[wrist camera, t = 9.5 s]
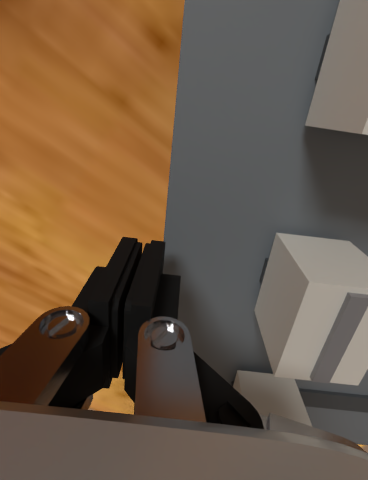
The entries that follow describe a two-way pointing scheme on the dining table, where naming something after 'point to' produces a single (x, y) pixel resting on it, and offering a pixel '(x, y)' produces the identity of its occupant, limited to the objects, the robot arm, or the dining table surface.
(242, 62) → the console
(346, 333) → the slider
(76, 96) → the dining table surface
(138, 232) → the dining table surface
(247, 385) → the slider
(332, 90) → the slider
